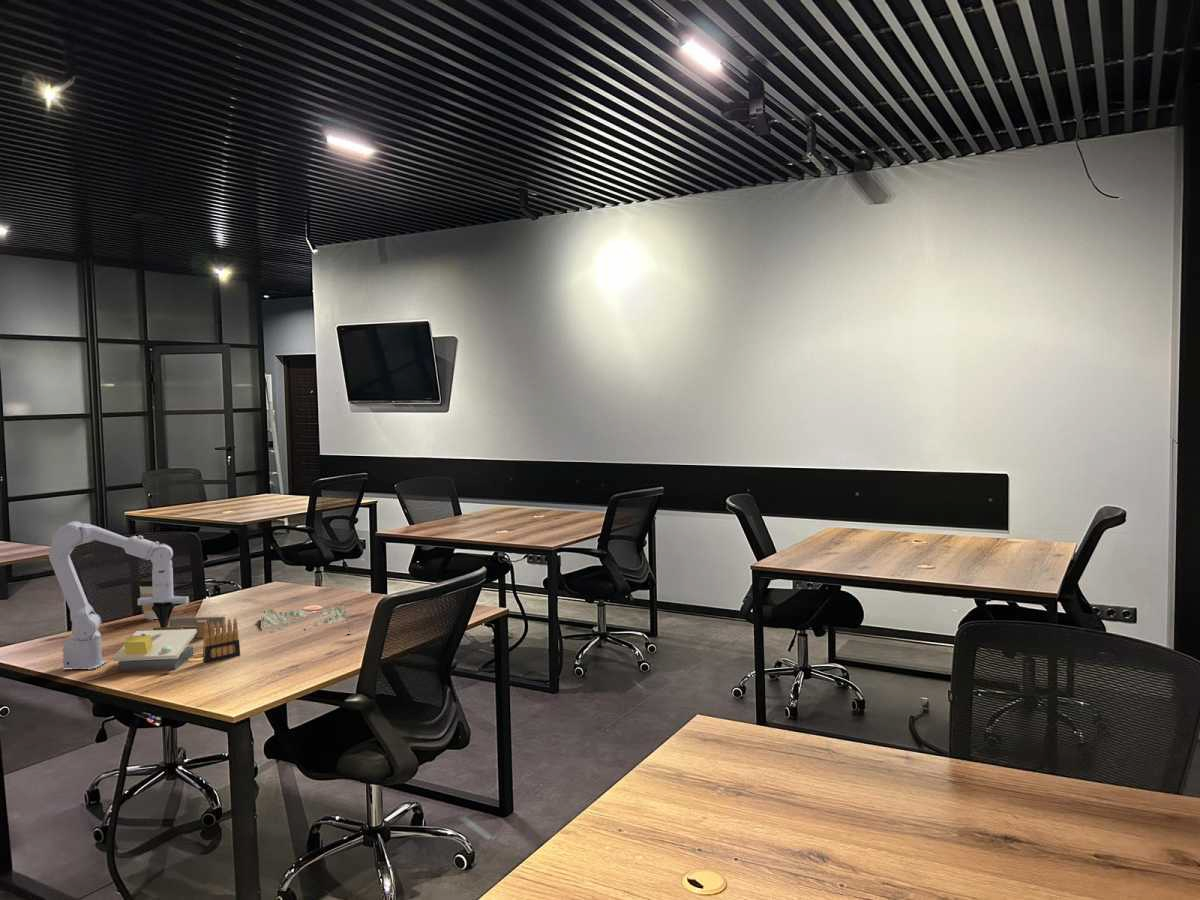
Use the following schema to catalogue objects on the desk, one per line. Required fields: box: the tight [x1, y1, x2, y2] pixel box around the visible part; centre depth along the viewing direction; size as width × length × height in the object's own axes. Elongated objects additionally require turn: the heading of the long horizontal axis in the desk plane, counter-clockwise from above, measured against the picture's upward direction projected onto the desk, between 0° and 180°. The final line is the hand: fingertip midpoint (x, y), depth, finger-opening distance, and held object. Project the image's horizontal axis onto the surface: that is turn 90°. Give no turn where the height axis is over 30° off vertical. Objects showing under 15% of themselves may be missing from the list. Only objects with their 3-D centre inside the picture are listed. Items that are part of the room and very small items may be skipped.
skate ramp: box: [152, 613, 226, 639], centre depth 283 cm, size 29×35×8 cm
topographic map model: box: [260, 602, 348, 633], centre depth 295 cm, size 36×29×5 cm
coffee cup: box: [137, 576, 158, 619], centre depth 310 cm, size 10×10×15 cm
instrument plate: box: [112, 629, 197, 662], centre depth 251 cm, size 18×16×5 cm
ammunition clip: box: [202, 617, 241, 664], centre depth 257 cm, size 11×2×12 cm, turn 136°
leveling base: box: [117, 646, 194, 672], centre depth 252 cm, size 16×14×5 cm
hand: (164, 626), depth 257 cm, fingers closed
